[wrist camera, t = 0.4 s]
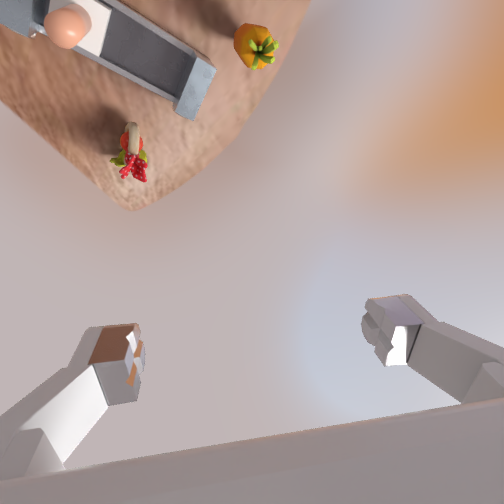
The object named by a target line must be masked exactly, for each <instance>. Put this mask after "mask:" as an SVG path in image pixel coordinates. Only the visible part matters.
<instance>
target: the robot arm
mask: <svg viewBox="0 0 504 504" xmlns="http://www.w3.org/2000/svg"><path fill="white" fill-rule="evenodd" d="M365 309H366V310H367V313H366V314H365V315H364V316H363V318H362V323H361V325H362V332H363V334H364V337H365V339H366V340H367V342H368V343H370V344H372V345H374V346H375V353H376V355H377V356H378V358H379V359H380V360H381V362H382V363H383V365H384V366H392V365H402V364H407V365H408V366H409V367H411V368H412V369H413V370H415V371H416V372H418V373H419V374H421V375H422V376H424V377H425V378H427V379H428V380H429V381H431V382H432V383H434V384H435V385H436V386H438V387H439V388H441V389H442V390H444V391H445V392H446V393H448V394H449V395H451V396H452V397H454V398H455V399H456V400H458V401H459V402H461V404H460V405H454V406H448V407H442V408H436V409H429V410H423V411H418V412H412V413H405V414H399V415H394V416H387V417H382V418H375V419H370V420H364V421H358V422H352V423H346V424H340V425H333V426H328V427H321V428H315V429H309V430H303V431H297V432H291V433H285V434H279V435H273V436H266V437H260V438H254V439H249V440H242V441H236V442H230V443H224V444H218V445H212V446H206V447H200V448H194V449H188V450H182V451H176V452H170V453H163V454H157V455H152V456H145V457H140V458H134V459H127V460H121V461H116V462H110V463H103V464H98V465H91V466H85V467H79V468H73V469H67V470H66V469H65V467H64V466H63V463H64V462H65V460H66V459H67V458H68V457H69V455H70V454H71V453H72V452H73V450H74V449H75V448H76V447H77V446H78V444H79V443H80V442H81V441H82V439H83V438H84V437H85V436H86V434H87V433H88V432H89V431H90V429H91V428H92V427H93V426H94V425H95V423H96V422H97V421H98V419H99V418H100V417H101V416H102V415H103V413H104V412H105V411H106V410H107V408H108V406H110V405H116V404H122V403H128V402H134V401H137V398H138V394H139V389H140V384H141V381H140V377H139V375H140V374H141V373H142V372H143V370H144V364H145V349H144V344H143V342H142V341H141V340H139V337H140V328H139V325H138V324H137V323H132V324H120V325H109V326H99V327H90V328H88V329H87V330H86V331H85V333H84V335H83V336H82V338H81V341H80V343H79V345H78V347H77V349H76V351H75V353H74V355H73V357H72V359H71V361H70V363H69V365H68V367H67V368H62V369H60V370H59V371H58V372H56V373H55V374H54V375H53V376H51V377H50V378H49V379H48V380H46V381H45V382H44V383H42V384H41V385H40V386H38V387H37V388H36V389H35V390H33V391H32V392H31V393H29V394H28V395H27V396H26V397H25V398H23V399H22V400H20V401H19V402H18V403H17V404H15V405H14V406H13V407H11V408H10V409H9V410H8V411H6V412H5V413H4V414H2V415H1V416H0V504H504V348H503V347H500V346H498V345H496V344H493V343H491V342H489V341H487V340H484V339H482V338H480V337H477V336H475V335H473V334H470V333H468V332H466V331H463V330H461V329H459V328H456V327H454V326H452V325H449V324H447V323H445V322H438V321H437V320H436V319H435V318H434V317H433V316H432V315H431V314H430V313H429V312H428V311H427V310H426V309H425V308H423V307H422V306H421V305H420V304H419V303H418V302H417V301H416V300H415V299H414V298H413V297H412V296H410V295H408V294H402V295H395V296H388V297H380V298H371V299H368V300H367V302H366V304H365Z"/></svg>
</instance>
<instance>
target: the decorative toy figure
mask: <svg viewBox="0 0 504 504" xmlns="http://www.w3.org/2000/svg"><path fill="white" fill-rule="evenodd" d="M120 144H121V146H122V148H123V151H121V152H120V153H119V156H118V158H111V160H110V162H111V163H115V165H116V166H119V167H122V166H125V165H126V166H125V167H123V168H122V169H121V170H120V171H119V173H121V174H122V175H121V178H122V179H124V178H126V176H127V175H128V174H129V172H130V170H131V172H132V175H133V177H134V178H136V179H138V180H140V181H142V182H147V179H146V175H145V170H146V168H147V159H146V153H145V152H144V151H143V150H141V149H142V147H143V141H142V138H141V137H140V134H139V127H138V125H137V124H136V123H135V122H128V124H127V126H125V133H123V134H122V136H121V138H120Z"/></svg>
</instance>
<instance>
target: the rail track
mask: <svg viewBox="0 0 504 504" xmlns="http://www.w3.org/2000/svg"><path fill="white" fill-rule="evenodd" d="M99 1H100V2H102V3H104V4H105V5H107V6H108V7H110V8H112V11H111V15H110V19H109V23H108V27H107V31H106V35H105V39H104V43H103V47H102V51H101V54H100V55H99V57H98V56H96V55H95V54H93V53H91V52H89V51H87V50H85V49H83V48H81V47H80V46H78V45H76V46H74V47H73V48H71V49H73V50H75V51H77V52H78V53H80V54H82V55H84V56H86V57H88V58H90V59H92V60H94V61H96V62H98V63H99V64H101V65H103V66H105V67H107V68H109V69H111V70H113V71H115V72H117V73H118V74H120V75H122V76H124V77H126V78H128V79H130V80H132V81H134V82H136V83H138V84H139V85H141V86H143V87H145V88H147V89H149V90H151V91H153V92H155V93H157V94H158V95H160V96H162V97H164V98H166V99H168V100H170V101H172V102H173V106H172V110H173V111H174V112H176V113H177V114H178V115H180V116H182V117H184V118H187V119H190V120H192V121H194V119H195V116H196V114H197V112H198V110H199V108H200V105H201V103H202V101H203V99H204V96H205V94H206V92H207V90H208V88H209V85H210V83H211V81H212V79H213V76H214V74H215V72H216V70H217V69H216V68H215V66H214V65H213V63H212V62H211V61H210V59H209V58H208V57H206V56H204V55H203V54H201V53H200V52H198V51H197V50H195V49H194V48H192V47H191V46H189V45H188V44H186V43H184V42H183V41H181V40H180V39H178V38H177V37H175V36H174V35H172V34H171V33H169V32H168V31H166V30H164V29H163V28H161V27H160V26H158V25H157V24H155V23H154V22H152V21H151V20H149V19H148V18H146V17H144V16H143V15H141V14H140V13H138V12H137V11H135V10H134V9H132V8H131V7H129V6H128V5H126V4H124V3H123V2H121V1H120V0H99ZM49 4H50V0H0V23H1V24H3V25H5V26H6V27H7V28H9V29H11V30H12V31H14V32H16V33H18V34H20V35H23V36H25V37H28V38H32V39H35V38H36V33H37V32H40V33H42V34H44V35H46V36H48V35H47V33H46V31H45V28H44V19H45V17H46V15H47V14H48V11H49Z"/></svg>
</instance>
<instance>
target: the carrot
mask: <svg viewBox="0 0 504 504" xmlns="http://www.w3.org/2000/svg"><path fill="white" fill-rule="evenodd" d="M278 47H279V45H278V42H277V41H274V40H273V38H272V36H271V34H270V32H269V31H268V29H267V28H266V27H263V26H259V25H253V24H247V23H245V24H243V25H242V26H241V27H240V28H239V29H238V30H237V31H236V32H235V34H234V49H235V50H236V52H237V54H238V55H239V57H240V58H241V60H242V61H243V62H244V64H245V65H246V66H247V67H248V68H251V69H252V70H256V69H262V68H263V67H265V66H266V65H267V64H268V63H269V64H272V63H273V62H274V61H275V58H274V57H273V52H274V50H276V49H277V48H278Z"/></svg>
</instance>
